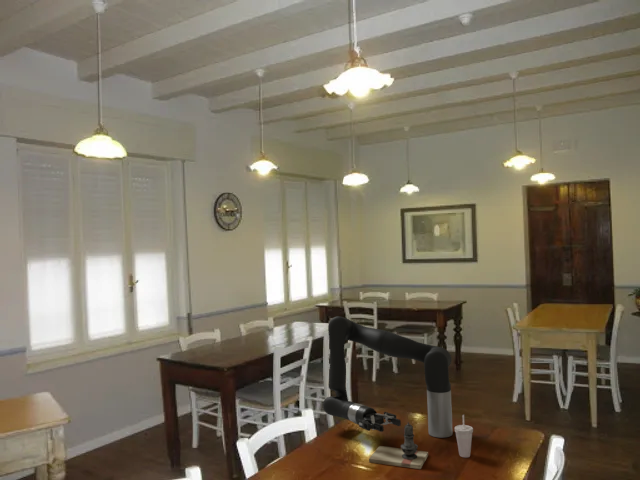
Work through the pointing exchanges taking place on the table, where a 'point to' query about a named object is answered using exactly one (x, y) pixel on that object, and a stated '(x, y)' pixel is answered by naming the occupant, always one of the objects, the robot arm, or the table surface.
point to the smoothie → (464, 439)
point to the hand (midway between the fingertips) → (391, 426)
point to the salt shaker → (409, 444)
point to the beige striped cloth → (397, 457)
